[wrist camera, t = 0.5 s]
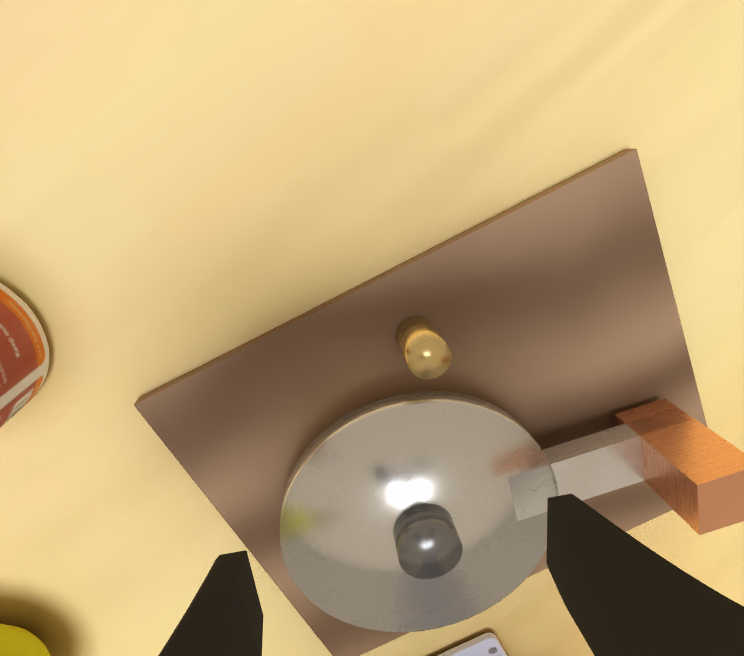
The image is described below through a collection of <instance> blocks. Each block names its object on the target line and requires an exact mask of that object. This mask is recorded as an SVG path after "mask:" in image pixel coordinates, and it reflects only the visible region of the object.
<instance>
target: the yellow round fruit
mask: <svg viewBox="0 0 744 656" xmlns="http://www.w3.org/2000/svg"><path fill="white" fill-rule="evenodd" d="M0 656H51V655H50V653H49V651H48V650H47V648H46V646H45V645H44V644H43V643H42V642H41V641H40V640H39V639H38V638H37V637H36V636H35V635H33V634H32V633H30V632H29V631H27V630H26V629H23V628H20V627H17V626H11V625H5V624H0Z"/></svg>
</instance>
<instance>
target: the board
mask: <svg viewBox="0 0 744 656" xmlns="http://www.w3.org/2000/svg"><path fill="white" fill-rule="evenodd" d="M410 316H423V317H425V318H427V319H428V320H429V321H430V322H431V323H432V324H433V326H434V327H435V329H436V330H437V332H438V333H439V334H440V336H441V337H442V339H443V340H444V341H445V343H446V344H447V346H448V347H449V349H450V351H451V363H450V365H449V367H448V369H447V370H446V371H445V372H444V373H443V374H442V375H440V376H439V377H437V378H433V379H422V378H419V377H417V376H415V375H414V374H413V373H412V372H411V370H410V368H409V366H408V364H407V362H406V360H405V357H404V355H403V353H402V351H401V349H400V346H399V344H398V342H397V339H396V331H397V328H398V326H399V324H400V323H401V322H402V321H403V320H404V319H406V318H408V317H410ZM418 391H444V392H453V393H460V394H464V395H468V396H472V397H476V398H479V399H481V400H484V401H486V402H489V403H491V404H493V405H495V406H497V407H499V408H500V409H502V410H504V411H506V412H507V413H508V414H510V415H511V416H512V417H513V418H515V419H516V420H517V421H518V422H519V423H520V424H521V425H522V426H523V427H524V428H525V429H526V430H527V431H528V432H529V433H530V435H531V436H532V437H533V439H534V440H535V441H536V442H537V444H538V445H539V446H540V448H541V449H542V450H543V449H546V448H550V447H553V446H556V445H559V444H562V443H565V442H568V441H572V440H575V439H578V438H581V437H584V436H587V435H591V434H594V433H597V432H600V431H603V430H606V429H609V428H613V427H616V423H615V414H617V413H620V412H623V411H626V410H629V409H633V408H636V407H639V406H642V405H645V404H648V403H652V402H655V401H658V400H661V399H664V398H665V399H667V400H668V401H669V402H671V403H672V404H674V405H675V406H677V407H678V408H680V409H681V410H682V411H684V412H685V413H687V414H688V415H690V416H691V417H693V418H694V419H695V420H697V421H698V422H700V423H701V424H703V425H704V426H706V427H707V424H706V420H705V416H704V412H703V408H702V405H701V401H700V397H699V393H698V389H697V385H696V381H695V377H694V373H693V369H692V365H691V361H690V357H689V353H688V349H687V346H686V342H685V338H684V334H683V330H682V326H681V322H680V318H679V314H678V310H677V306H676V302H675V298H674V294H673V291H672V287H671V283H670V279H669V275H668V271H667V267H666V263H665V259H664V255H663V251H662V247H661V243H660V239H659V235H658V232H657V228H656V224H655V220H654V216H653V212H652V208H651V204H650V200H649V196H648V192H647V188H646V184H645V180H644V177H643V173H642V169H641V165H640V161H639V157H638V153H637V149H626V150H624V151H622V152H620V153H618V154H616V155H614V156H612V157H610V158H608V159H606V160H604V161H602V162H600V163H598V164H596V165H594V166H592V167H590V168H588V169H586V170H584V171H583V172H581V173H579V174H577V175H575V176H573V177H571V178H569V179H567V180H565V181H563V182H561V183H559V184H557V185H555V186H553V187H551V188H549V189H547V190H545V191H543V192H541V193H539V194H537V195H535V196H534V197H532V198H530V199H528V200H526V201H524V202H522V203H520V204H518V205H516V206H514V207H512V208H510V209H508V210H506V211H504V212H502V213H500V214H498V215H496V216H494V217H492V218H490V219H488V220H486V221H485V222H483V223H481V224H479V225H477V226H475V227H473V228H471V229H469V230H467V231H465V232H463V233H461V234H459V235H457V236H455V237H453V238H451V239H449V240H447V241H445V242H443V243H441V244H439V245H437V246H436V247H434V248H432V249H430V250H428V251H426V252H424V253H422V254H420V255H418V256H416V257H414V258H412V259H410V260H408V261H406V262H404V263H402V264H400V265H398V266H396V267H394V268H392V269H390V270H388V271H387V272H385V273H383V274H381V275H379V276H377V277H375V278H373V279H371V280H369V281H367V282H365V283H363V284H361V285H359V286H357V287H355V288H353V289H351V290H349V291H347V292H345V293H343V294H341V295H339V296H338V297H336V298H334V299H332V300H330V301H328V302H326V303H324V304H322V305H320V306H318V307H316V308H314V309H312V310H310V311H308V312H306V313H304V314H302V315H300V316H298V317H296V318H294V319H292V320H290V321H289V322H287V323H285V324H283V325H281V326H279V327H277V328H275V329H273V330H271V331H269V332H267V333H265V334H263V335H261V336H259V337H257V338H255V339H253V340H251V341H249V342H247V343H245V344H243V345H241V346H240V347H238V348H236V349H234V350H232V351H230V352H228V353H226V354H224V355H222V356H220V357H218V358H216V359H214V360H212V361H210V362H208V363H206V364H204V365H202V366H200V367H198V368H196V369H194V370H192V371H191V372H189V373H187V374H185V375H183V376H181V377H179V378H177V379H175V380H173V381H171V382H169V383H167V384H165V385H163V386H161V387H159V388H157V389H155V390H153V391H151V392H149V393H147V394H145V395H143V396H142V397H140V398H138V400H137V401H136V402H135V404H134V406H135V407H136V408H137V410H138V411H139V412H140V413H141V415H142V416H143V417H144V418H145V420H146V421H147V422H148V424H149V425H150V426H151V427H152V429H153V430H154V431H155V432H156V434H157V435H158V436H159V437H160V439H161V440H162V441H163V442H164V444H165V445H166V446H167V447H168V449H169V450H170V451H171V452H172V454H173V455H174V456H175V458H176V459H177V460H178V461H179V463H180V464H181V465H182V466H183V468H184V469H185V470H186V471H187V473H188V474H189V475H190V476H191V478H192V479H193V480H194V481H195V483H196V484H197V485H198V486H199V488H200V489H201V490H202V492H203V493H204V494H205V495H206V497H207V498H208V499H209V500H210V502H211V503H212V504H213V505H214V507H215V508H216V509H217V510H218V512H219V513H220V514H221V515H222V517H223V518H224V519H225V521H226V522H227V523H228V524H229V526H230V527H231V528H232V529H233V531H234V532H235V533H236V534H237V536H238V537H239V538H240V539H241V541H242V542H243V543H244V544H245V546H246V547H247V548H248V549H249V551H250V552H251V553H252V555H253V556H254V557H255V558H256V560H257V561H258V562H259V563H260V565H261V566H262V567H263V568H264V570H265V571H266V572H267V573H268V575H269V576H270V577H271V578H272V580H273V581H274V582H275V583H276V585H277V586H278V587H279V589H280V590H281V591H282V592H283V594H284V595H285V596H286V597H287V599H288V600H289V601H290V602H291V604H292V605H293V606H294V607H295V609H296V610H297V611H298V612H299V614H300V615H301V616H302V618H303V619H304V620H305V621H306V623H307V624H308V625H309V626H310V628H311V629H312V630H313V631H314V633H315V634H316V635H317V636H318V638H319V639H320V640H321V641H322V643H323V644H324V645H325V646H326V648H327V649H328V650H329V652H330V653H331V654H332V655H333V656H359V655H362V654H364V653H366V652H368V651H370V650H372V649H374V648H377V647H379V646H381V645H383V644H385V643H387V642H389V641H392V640H394V639H396V638H398V637H400V636H402V635H405V634H407V633H409V632H385V631H377V630H370V629H366V628H362V627H357V626H354V625H352V624H349V623H346V622H343V621H341V620H339V619H337V618H335V617H333V616H331V615H329V614H327V613H326V612H324V611H323V610H321V609H320V608H318V607H317V606H315V605H314V604H313V603H312V602H311V601H310V600H309V599H308V598H307V597H306V596H305V595H304V594H303V593H302V592H301V591H300V589H299V588H298V587H297V586H296V584H295V583H294V581H293V579H292V578H291V576H290V574H289V572H288V570H287V568H286V565H285V562H284V560H283V556H282V551H281V546H280V518H281V509H282V501H283V495H284V492H285V489H286V485H287V482H288V479H289V477H290V475H291V473H292V471H293V469H294V467H295V465H296V463H297V462H298V460H299V459H300V457H301V456H302V454H303V453H304V451H305V450H306V449H307V448H308V447H309V446H310V445H311V443H312V442H313V441H314V440H315V439H316V438H317V437H318V436H319V435H320V434H321V433H322V432H324V431H325V430H326V429H327V428H328V427H329V426H330V425H332V424H333V423H335V422H336V421H338V420H339V419H341V418H342V417H343V416H345V415H346V414H348V413H350V412H352V411H354V410H356V409H358V408H360V407H362V406H364V405H366V404H369V403H372V402H374V401H377V400H380V399H382V398H386V397H390V396H394V395H398V394H403V393H411V392H418ZM582 501H583V502H585V503H586V504H587V505H589V506H590V507H591V508H593V509H594V510H596V511H597V512H598V513H600V514H601V515H602V516H604V517H605V518H607V519H608V520H609V521H611V522H612V523H614V524H615V525H616V526H618V527H619V528H621V529H622V530H623V531H625V532H626V531H628V530H630V529H632V528H634V527H636V526H639V525H641V524H643V523H645V522H647V521H649V520H651V519H654V518H656V517H658V516H660V515H662V514H664V513H666V512H669V511H671V510H673V509H672V508H671V507H670V506H669V505H668V504H667V503H666V502H665V501H664V500H663V499H662V498H661V497H660V496H659V495H658V494H657V493H656V492H655V491H654V490H653V489H652V488H651V487H650V486H649V485H648V484H647V483H646V482H645V481H642V482H639V483H636V484H632V485H629V486H626V487H623V488H620V489H617V490H614V491H610V492H607V493H604V494H601V495H598V496H595V497H592V498H589V499H585V500H582ZM546 559H547V549H546V551H545V553H544V555H543V557H542V558H541V560H540V561H539V563H538V564H537V566H536V567H535V568H534V570H533V571H532V572H531V573H530V574H529V576H531V575H533V574H535V573H538V572H540V571H542V570H544V569H546V568H548V566H547V563H546ZM529 576H528V577H529Z"/></svg>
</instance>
